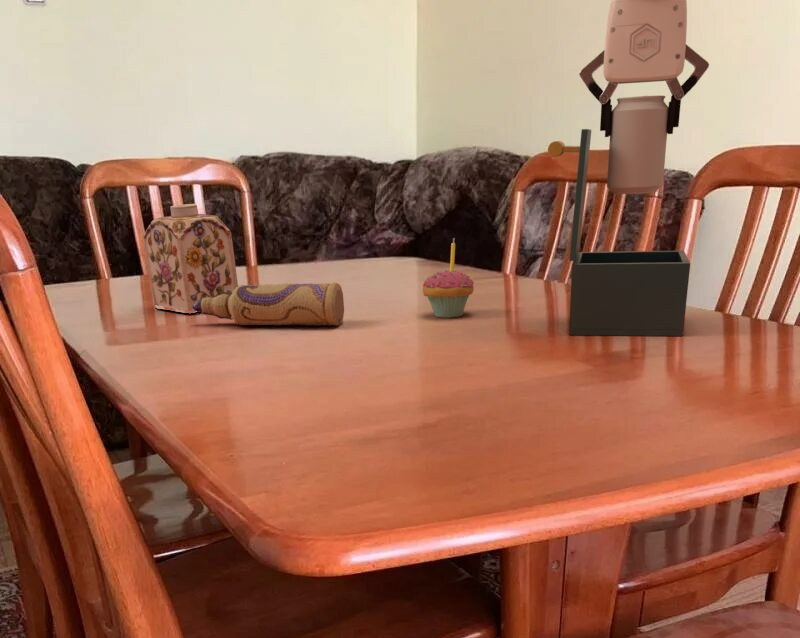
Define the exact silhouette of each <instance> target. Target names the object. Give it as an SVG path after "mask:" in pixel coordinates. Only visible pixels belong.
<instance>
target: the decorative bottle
mask: <svg viewBox="0 0 800 638" xmlns="http://www.w3.org/2000/svg"><path fill="white" fill-rule="evenodd" d="M344 302H345V301H344V292H343V288H342V285H340V284H339V283H338V282H331V283H278V284H274V283H273V284H272V283H269V284H268V283H266V284H246V285H245V284H241V285H238V287H236V288H235V289H234V291H233V293H232V295H229V294H227V295H226V294H224V295H219V296H217V297H215V298H211V297H206V298H203V299H202V300H197V301H196V302H194V304H193V307H192V308H193V309H194V311H197V312H201V313H200V314H203V315H205V316H207V315H208V316H214V317H217V318H218V319H220V320H222V319H223V320H224V319H226V320H233V322H234V323H235V324H236V325H238V324H239V326H241V325H258V326H259V325H274V326H281V325H299V326H321V325H323V326H326V325H328V326H331V325H336V326H335V327H338V326H337V325H339V324H340V325H341V324H342V322H343V321H344V315H345V303H344ZM340 325H339V326H340Z"/></svg>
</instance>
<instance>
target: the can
mask: <svg viewBox="0 0 800 638" xmlns="http://www.w3.org/2000/svg"><path fill="white" fill-rule="evenodd" d="M665 99H666V95H642V96H641V95H640V96H627V97H618V98H616V102H617V104H616V105H615V107H614V108H612V115H611V132H610V136H609V146H608V162H607V163H608V165H607V183H606V187H607V188H608V190H610V191H611V193H612V194H613V195H642V194H652V193H653V194H654V193H657V192H658V190H659V189H660V188H661V187H663V185H664V175H665V165H666V152H667V141H668V133H667V126H668V115H669V107H668V106H669V105H668V104H667V103H666V102H665Z"/></svg>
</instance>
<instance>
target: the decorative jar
mask: <svg viewBox="0 0 800 638" xmlns="http://www.w3.org/2000/svg"><path fill="white" fill-rule="evenodd" d="M198 208H199V207H198V205H197V203H188V204H187V203H186V204H176V205H171V206H170V215H168V216H167V215H166V216H161V217H156V218H155V219H153V220H152V221H151V222H150V224H149V225H148V227H147V228H146V230H145V232H144V234H143V237H142V238H143V243H144V244H143V245H144V249H145V256H146V264H147V271H148V277H149V282H150V283H149V284H150V288H151V289H150V290H151V295H152V299H153V305H154V306H155V305H157V306H163V307H168V308H173V309H178V310H183V311H194V309H193V308H192V307H193V304H194V302H196V301H197V300H202V299H203V298H206V297H211V298H215V297H217V296H219V295H224V294H226V295H227V294H229V295H232V293H233V291H234V289H235V288H236V287H238V286H239V283H238V273H237V266H236V259H235V252H234V244H233V237H232V232H231V230H230V229H229V227H228V226H227V224H225V223H224V222H223V220H221V219H220V217H219V216H218V215H213V214H209V213H208V214H207V213H206V214H204V213H199V209H198Z"/></svg>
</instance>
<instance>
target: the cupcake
mask: <svg viewBox="0 0 800 638" xmlns="http://www.w3.org/2000/svg"><path fill="white" fill-rule="evenodd" d="M455 239H456V238H455V237H453V238H452V243H451V245H450V259H449V260H450V261H449V262H450V263H449V270H444V271H443V270H440V271H438V272H436V273H434V274H433V275H431V276H429V277H427V278H426V279H425V280H424V283H423V284H422V294H423V295H422V296H424V297H427V299H428V301H429V303H430V306H431V309H432V313H433V315H434V317H436V318H442V319H450V318H451V319H452V318H458V317H461V316H463V315H464V313H465V312H464V311H465V307H466V305H467V301H468V299H469V297H470V296H471V295H472V294H473V293H474V290H475V287H474V284H475V282H474V280H473V279H472V278H470V277H471V276H469V275H467V274H465V273H463V272H460V271H456V270H455V257H456V243H455Z"/></svg>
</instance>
